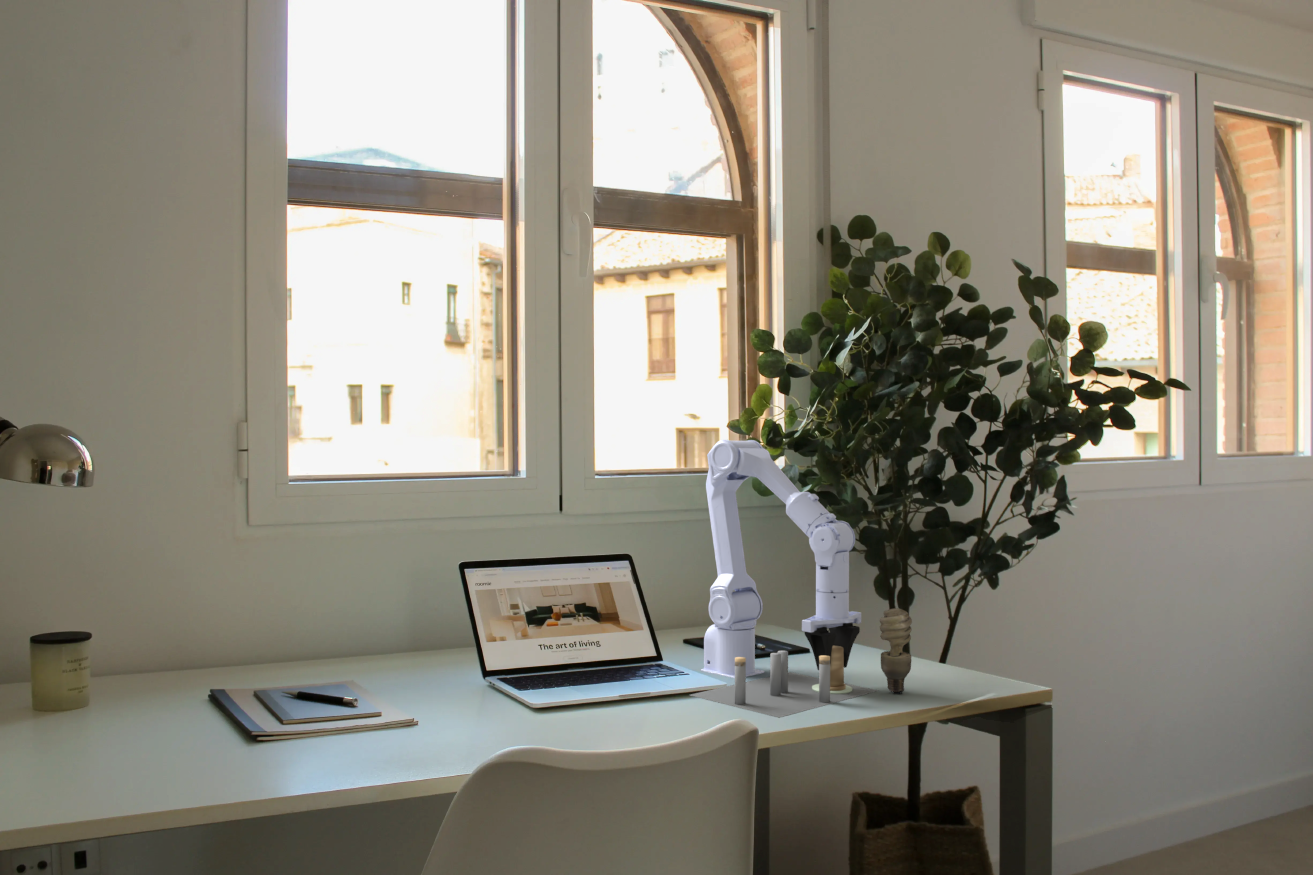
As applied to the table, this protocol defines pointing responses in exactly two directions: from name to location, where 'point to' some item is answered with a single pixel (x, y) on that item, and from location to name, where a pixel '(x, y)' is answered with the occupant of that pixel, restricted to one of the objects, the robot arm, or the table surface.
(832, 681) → the cylinder
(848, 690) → the pad
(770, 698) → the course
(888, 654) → the light bulb
